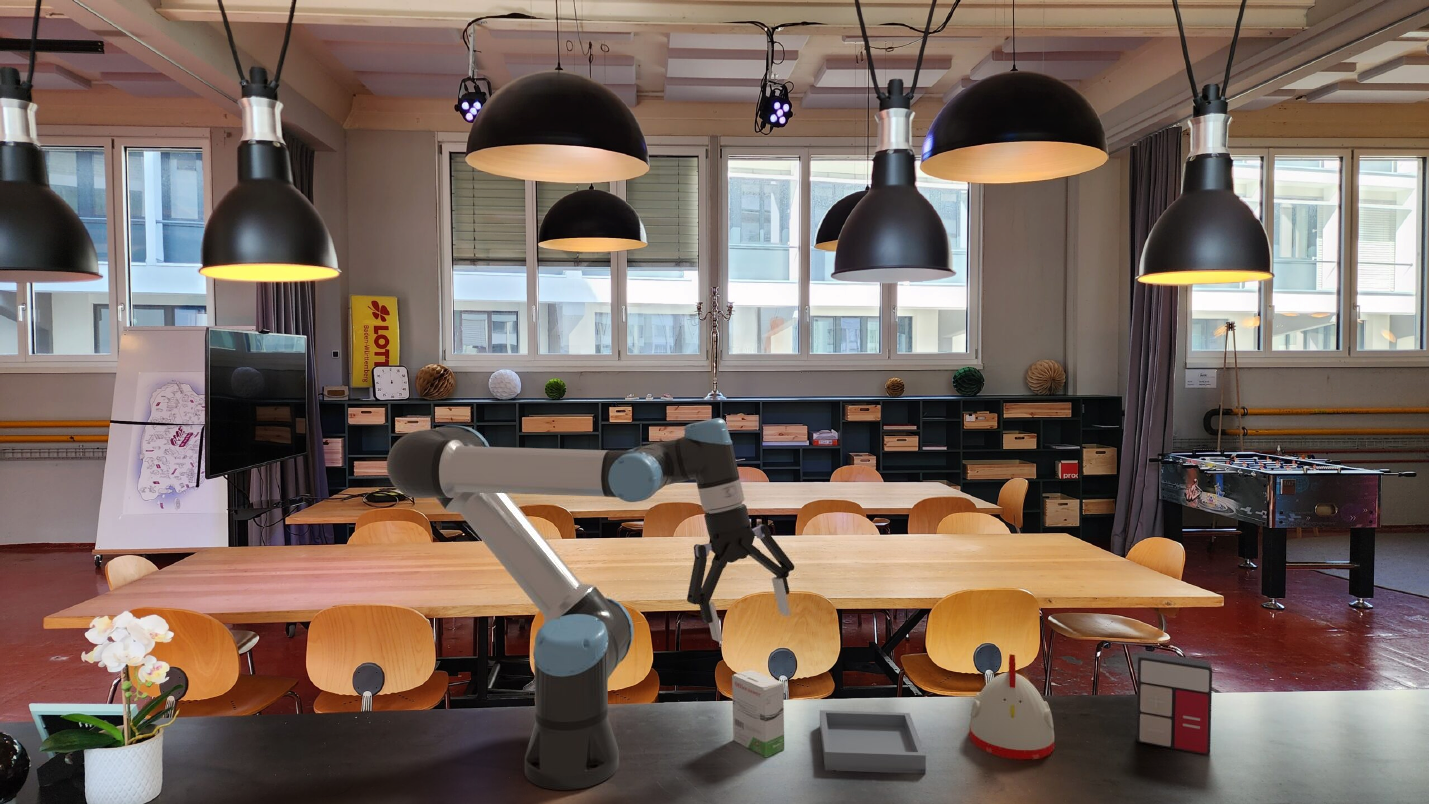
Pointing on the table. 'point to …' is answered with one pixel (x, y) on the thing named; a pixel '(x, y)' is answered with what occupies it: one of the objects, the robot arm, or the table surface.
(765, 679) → the ink box
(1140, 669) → the calculator
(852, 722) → the tray
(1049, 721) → the kitchen timer
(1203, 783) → the table surface
